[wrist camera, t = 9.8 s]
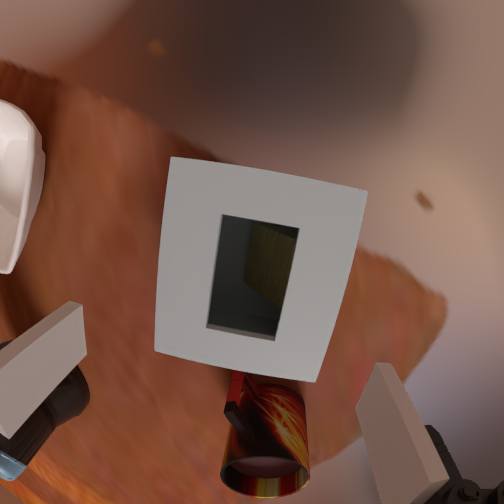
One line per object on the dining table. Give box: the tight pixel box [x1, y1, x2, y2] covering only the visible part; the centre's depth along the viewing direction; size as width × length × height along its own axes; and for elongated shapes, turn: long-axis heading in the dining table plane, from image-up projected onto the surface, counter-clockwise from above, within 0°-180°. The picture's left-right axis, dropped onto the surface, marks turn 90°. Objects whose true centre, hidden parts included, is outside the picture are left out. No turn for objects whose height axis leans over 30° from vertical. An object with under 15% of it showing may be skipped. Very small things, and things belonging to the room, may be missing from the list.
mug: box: [220, 370, 310, 498], centre depth 31 cm, size 10×14×12 cm
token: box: [243, 223, 298, 308], centre depth 27 cm, size 3×6×8 cm
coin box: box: [155, 157, 368, 382], centre depth 27 cm, size 14×16×10 cm
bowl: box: [0, 100, 45, 274], centre depth 28 cm, size 21×21×9 cm
